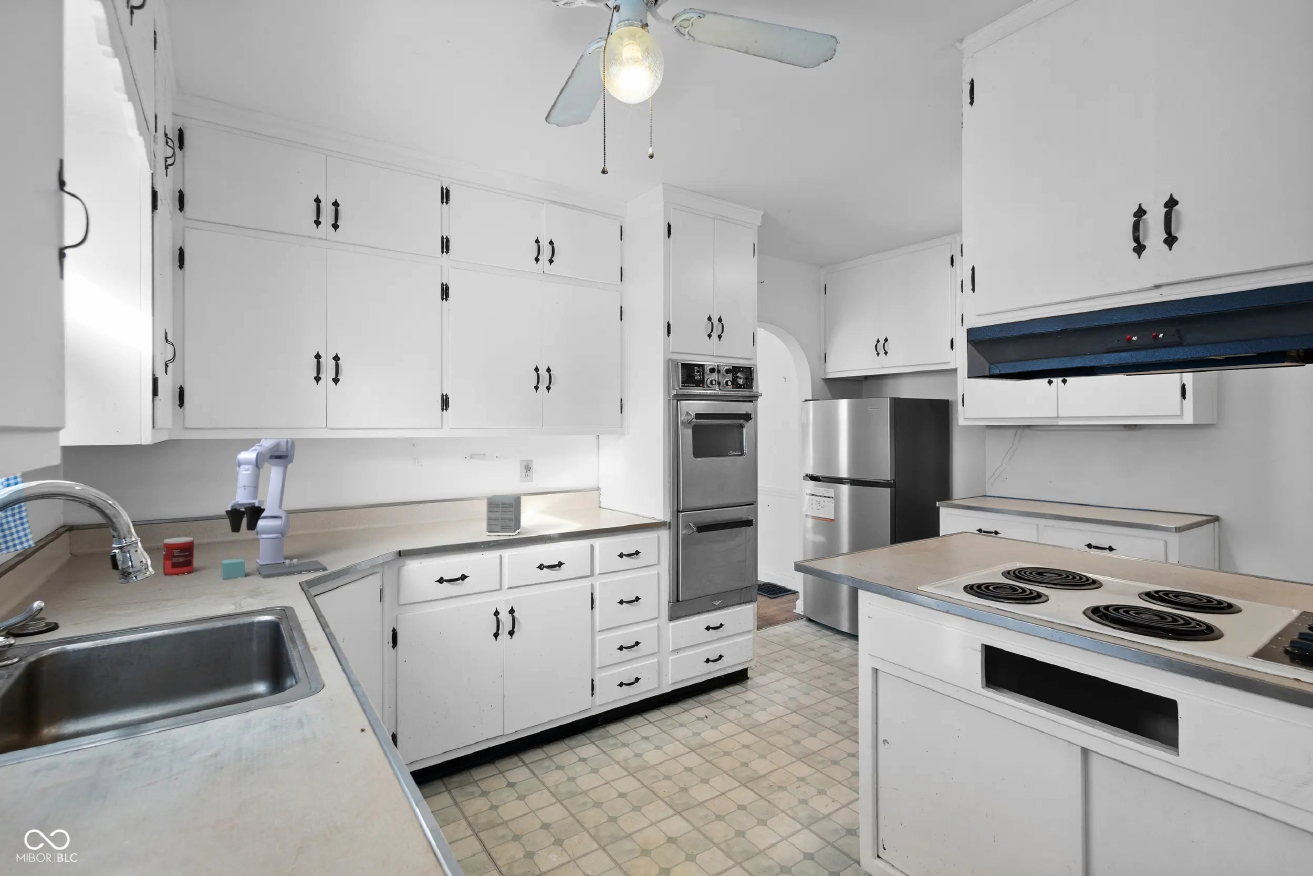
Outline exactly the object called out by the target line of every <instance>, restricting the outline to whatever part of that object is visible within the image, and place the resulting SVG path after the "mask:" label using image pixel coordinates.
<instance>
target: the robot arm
mask: <svg viewBox="0 0 1313 876" xmlns="http://www.w3.org/2000/svg"><path fill="white" fill-rule="evenodd" d="M295 444H296V443H295V441H294V439H293V438H266V437H263V438H262V439H261V440H260V443H255V445H254V446H253V447H251V448H250V449H248V450H245V451H244V450H242V451H241V452H238V454H237V456H236V459H235V460H236V461H235V463H236V467H237V468H236V473H237V474H238V475H237V485H236V491H235V492H236V493H235V500H232V501H231V503H228V505H227V506H228V508H227V510H225V512H224V513H225V515H226V517H227V518H228V522H229V527H230V531H231V533H233V534H234V533H235V534H236V533H237V534H238V533H240V531H241V529H242V524H243V520H244V518H246V522H245V523H246V526H245V527H246V531H250V532H251V531H252V532H253V533H254V535H255V536H256V537H257V539H259V559H255V561H256V562H257V564H258V565H260V566H266V565H275V564H284V563H286V560H287V559H285V558H284V552H285V549H284V548H285V547H284V546H285V545H284V544H285V542H284V541H285V536H287V535H288V533H289V532H290V525H291V524H290V515H289V514H288V512H286V511H285V510H283V501H284V493H285V486H286V479H287V473H288V472H287V471H288V467H289V465H290V464H292V463H293V462H294V459H295V452H296V445H295ZM265 463H266V464H269V465H270V466H271V471H270V477H269V478H270V479H269V482H268V483H269V484H268V491H267V498H266V499H267V500H266V505H265V508H264V504H265V500H263V499H258V497H259V496H258V495H259V485H260V476H261V475H260V474H261V470H262V469H264V465H265ZM262 507H263V508H262ZM283 562H284V563H283Z"/></svg>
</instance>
